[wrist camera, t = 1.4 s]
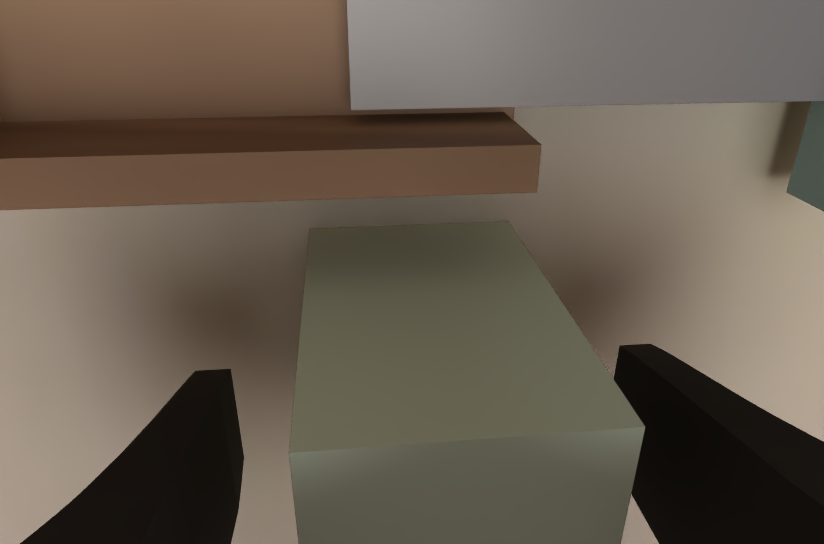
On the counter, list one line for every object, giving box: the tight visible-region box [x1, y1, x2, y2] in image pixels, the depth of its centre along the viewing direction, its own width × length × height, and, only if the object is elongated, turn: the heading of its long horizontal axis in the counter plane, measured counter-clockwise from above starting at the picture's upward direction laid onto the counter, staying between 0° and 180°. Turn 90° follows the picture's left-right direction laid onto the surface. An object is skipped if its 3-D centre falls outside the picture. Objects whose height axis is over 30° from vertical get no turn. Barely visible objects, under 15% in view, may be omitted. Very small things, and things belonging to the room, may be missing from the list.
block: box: [289, 221, 645, 544], centre depth 12 cm, size 4×4×7 cm
